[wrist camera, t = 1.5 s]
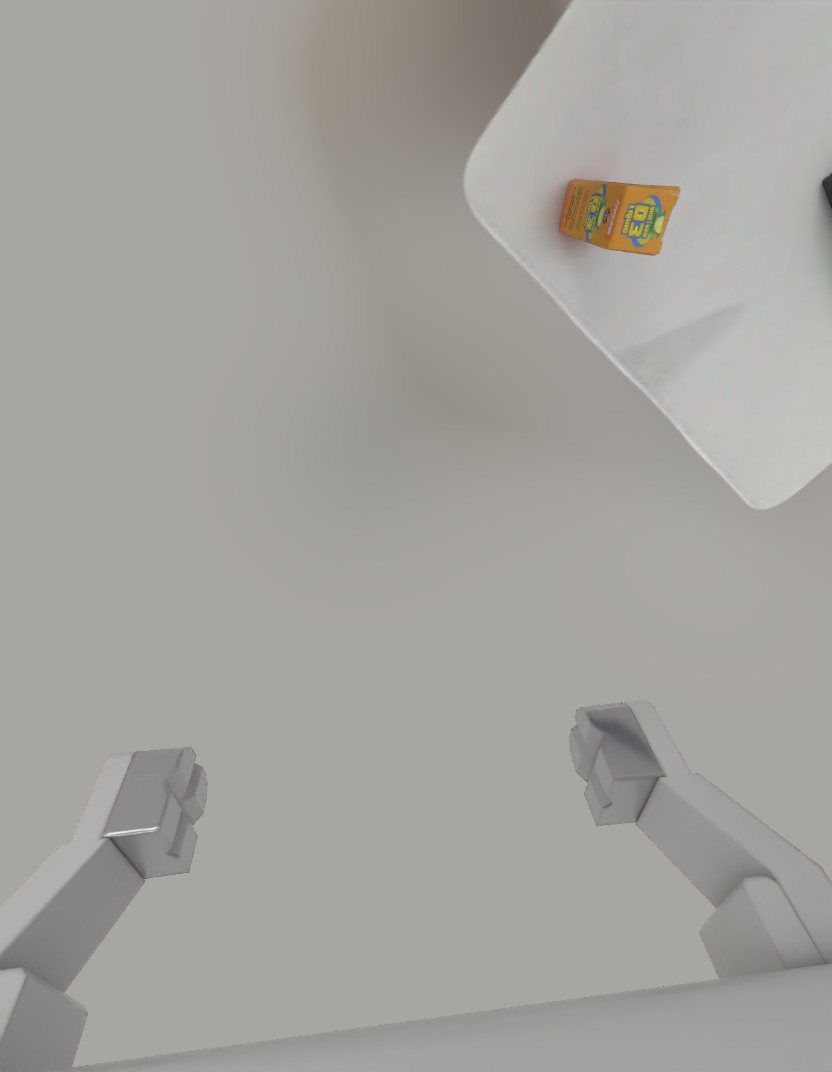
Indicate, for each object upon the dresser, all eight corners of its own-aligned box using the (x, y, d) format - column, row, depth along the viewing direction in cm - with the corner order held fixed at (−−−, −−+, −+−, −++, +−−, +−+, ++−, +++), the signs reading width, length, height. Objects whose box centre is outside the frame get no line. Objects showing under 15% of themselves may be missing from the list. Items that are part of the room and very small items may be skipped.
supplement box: (565, 176, 34) (629, 178, 26) (612, 183, 35) (689, 187, 27) (552, 233, 36) (609, 251, 28) (597, 238, 37) (665, 257, 29)
